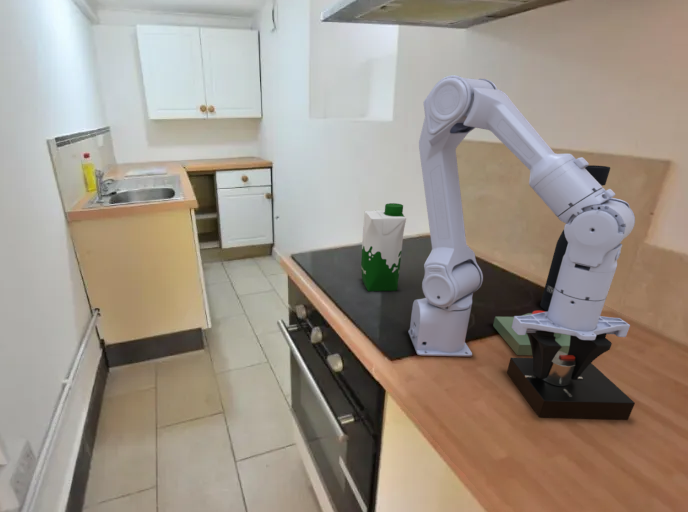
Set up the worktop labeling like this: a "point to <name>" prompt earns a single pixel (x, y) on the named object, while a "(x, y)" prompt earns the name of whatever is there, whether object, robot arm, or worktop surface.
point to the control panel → (571, 394)
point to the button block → (524, 337)
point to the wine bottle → (601, 177)
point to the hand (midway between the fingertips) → (554, 375)
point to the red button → (537, 312)
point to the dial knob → (561, 369)
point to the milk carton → (382, 247)
